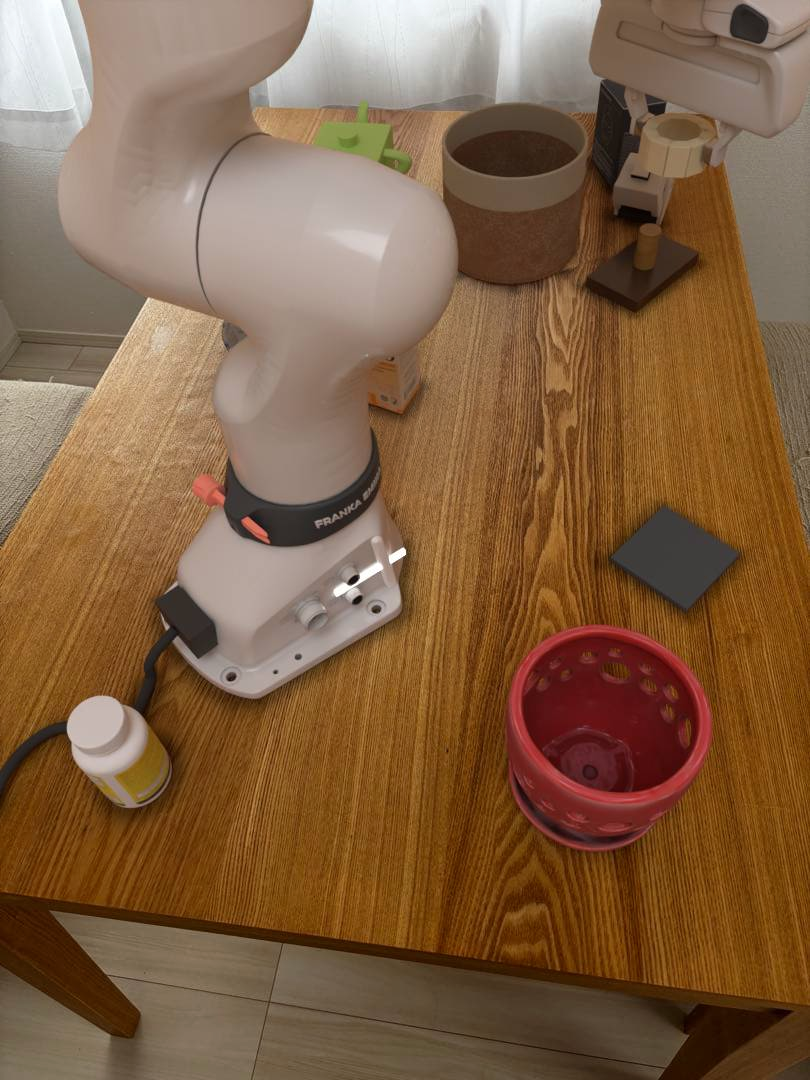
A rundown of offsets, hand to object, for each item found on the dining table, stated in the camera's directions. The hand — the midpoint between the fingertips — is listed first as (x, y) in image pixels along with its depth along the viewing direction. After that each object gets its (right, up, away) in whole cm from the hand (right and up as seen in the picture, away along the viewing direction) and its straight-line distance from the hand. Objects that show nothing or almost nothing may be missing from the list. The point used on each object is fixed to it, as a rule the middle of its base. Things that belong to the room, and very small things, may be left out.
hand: (675, 148), depth 82 cm
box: (+3, +11, +31) cm, 33 cm away
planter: (-13, -2, +23) cm, 26 cm away
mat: (-2, -39, -6) cm, 39 cm away
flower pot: (-12, -55, -17) cm, 59 cm away
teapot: (-32, +5, +29) cm, 44 cm away
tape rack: (+2, -6, +18) cm, 19 cm away
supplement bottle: (-46, -56, -15) cm, 74 cm away
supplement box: (-29, -22, +9) cm, 37 cm away
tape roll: (0, -1, +1) cm, 1 cm away
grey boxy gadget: (+3, +3, +25) cm, 25 cm away
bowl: (-38, -17, +13) cm, 44 cm away
